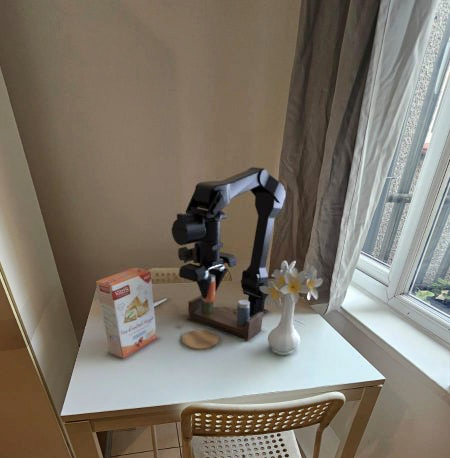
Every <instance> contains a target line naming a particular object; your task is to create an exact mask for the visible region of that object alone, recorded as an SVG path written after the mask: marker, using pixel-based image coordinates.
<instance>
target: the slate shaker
mask: <svg viewBox="0 0 450 458" xmlns="http://www.w3.org/2000/svg"><path fill="white" fill-rule="evenodd" d="M236 308H237V309H236V315H237V324H238V325H240V326H246V320H248V319H249V318H250V315H249V313H250V302H249V301H248V299H240V300H238V302H237V307H236Z"/></svg>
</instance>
